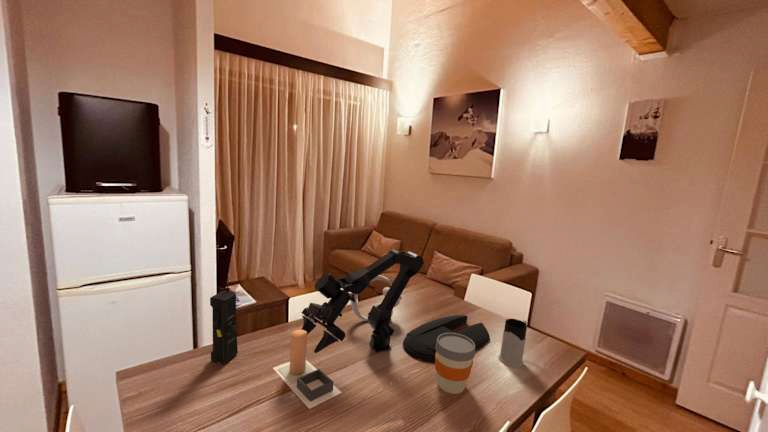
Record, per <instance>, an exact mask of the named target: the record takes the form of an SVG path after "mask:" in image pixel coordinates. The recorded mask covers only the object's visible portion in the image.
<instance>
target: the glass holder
mask: <svg viewBox="0 0 768 432" xmlns="http://www.w3.org/2000/svg"><path fill="white" fill-rule="evenodd" d="M527 329H528V323H527V320H524V319H523V320H519V319H516V318H507V319H505V323H504V329H503V332H502V341H501V347H500V351H499V355H498V360H499V362H501V364H503V365H505V366H507V367H509V368H521V367H523V366H524V362H523V359H524V358H523V357H524V352H525V351H524V350H525V344H526V341H527V340H526V339H527V338H526V337H527V336H526V335H527Z"/></svg>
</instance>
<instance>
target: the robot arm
mask: <svg viewBox="0 0 768 432" xmlns="http://www.w3.org/2000/svg"><path fill="white" fill-rule="evenodd" d="M397 263H398V264H399V271H398V273H397V275H396V276H395V278H394V280H393V281H392V285H391V284H390V287H389V288H390V289H389V290H388V292H387V294H386V295H385V296H384V297H383V299H382V301H381V303H380V305H378V304H377V305H378V306H377V307H375V305H372V307H371V309H370V311H369V312H368V313H367V317H368V318H367V320H368V321H367V323H368V325H370V327H371V328H372V329H373V330H372V332H371V333H372V334H371V336H370V342H369V345H370V346H371V348H373V350H374V351H375V352H377V353H379V352H383V351H388V350H389V351H390V350H392V346H391V345H390V344H391V336H393V335H394V333H395V329H394V328H393V327H391V326H390V323H391V321H392V317H391V314H392V310H393V311H394V308H395V307H394V306H395V304H396V303H397V301H398V299H399V297H400V296H401V297H402V294H403V292H404V290H405V289H406V286H407V285H408V284H409V281H410V280H411V278H412V277H415V276H416V275H418V273H419V272H420V271H421V270H422V268H423V267H424V263H425V261H424V258H423V257H422V256H421V255H419V254H418V253H415V252H412V251H411V250H410V251H406V252H405V251H402V250H401V251H400V250H396V249H391V250H389V251H388V253H386V254H384V255H383V256H381V257H380V258H378V259H376V260H375V261H374V262H373V263H371V264H369V265H368V266H367V267H365V268H363V269H357V270H355V271H352V272H350V273H348V274H346V275H345V276H342V277H339V278H335V277H334V276H333V275H332V274H331V273H330V272H328V273H327V274H326V275H322V276H321V277H319V278H318V279H317V280H316V282H315V284H314V289H315V290H316V291H317V292H319V294H320V295H323V297H325V298H326V299H329V300H328V302H327V301H325V302H323V303H322V304H319V303H314V302H310V303H309V304H308V307H304V308H303V310H302V311H301V314H302V315H301V317H302V319H303V325H302V328H301V330H305V331H306V332H307V336H308V335H309V334H310V333H311V332H312V331H313V330H314V329H315V328H316V327H317V325H316V324H319V325H320V326H321V327H323V328H324V330H323V334H322V338H321V339H320V340H319V342H318V343H317V345H316V347H315V349H314V350H313V352H314V353H315V354H318V353H319V352H321V351H322V350H324V349H326V348H327V347H329V346H331V345H333V344H335V343H336V342H337V343H339V341H340V342H343V341H344V340H345V339H346V332H345V331H344V330H343V329H341V328H340V327H339V326H338V325H336V324H335V322H336V321H337V319H338V318H339V317H340V318H341V317H342V316H343V313H342V312H343V310H344V309H345V308H346V306H347V305H348V304H349V302H351V301H352V302H355V295H354V294H358V295H359V294H361V293H363V291H364V290H366V289H367V288H368V287H369V285H370V284H371V282H370V281H372V280H373V279H374V278H375V277H377V276H378V275H381V274H383V273H384V272H386V271H387V270H389V269H390V268H392V267H393V266H395V265H397ZM372 282H373V281H372ZM352 293H353V294H352ZM325 329H326V330H325Z"/></svg>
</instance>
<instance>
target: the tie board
mask: <svg viewBox="0 0 768 432" xmlns="http://www.w3.org/2000/svg"><path fill="white" fill-rule="evenodd" d="M272 370H274V372H275V373H276V374H277V375H278V376H279V377H280V378H281V380H283V382H284V383H286V384H287V386H288V387H289V389H291V390H292V392H293V393H294V394H296V396H297V397H298V398H299V399H300V400H301V401H302V402H303V404H304V405H306V407H307V408H308V409H309V410H310V409H312V408H315V407H316V406H319V405H320V404H322V403H325V402H326V401H328V400H330V399H332V398H334V397H336V396H338V395H340V394H342V391H341V390H340V389H339V388H337V386H335V385H334V380H332V379H331V378H330V377H329V376H328V375H327V374H326V373H325V372H324V371H323V370H321V369H320V368H318V369H317V368H316V367H315V366H313V364H312V363H310V362H309V360H307V359H306V368H305V372H304V373H303V374H301V375H292V374H291V373H290V361H288V362H284V363H281V364H279V365H277V366H274V367H272Z"/></svg>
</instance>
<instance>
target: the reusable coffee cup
mask: <svg viewBox="0 0 768 432" xmlns="http://www.w3.org/2000/svg"><path fill="white" fill-rule="evenodd" d="M435 348H436V354H435V362H434V363H435V371H436V385H437V386H438V388H439V389H441V390H442V391H443V392H445V393H448V394H452V395H455V394H458V395H459V394H460V393H463V392H464V391H465V389H466V385H467V380H468V379H469V377H470V375H471V372H472V368H473V364H474V361H473V360H474V358H475V356H476V351H475V344H474V342H473V341H472V340H471V339H470V338H468V337H466V336H464V335H461V334H458V333H456V332H455V333H443V334H441V335H439V336H438V338H437V341H436V346H435Z"/></svg>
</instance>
